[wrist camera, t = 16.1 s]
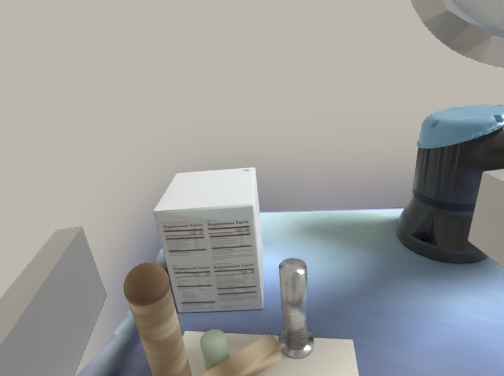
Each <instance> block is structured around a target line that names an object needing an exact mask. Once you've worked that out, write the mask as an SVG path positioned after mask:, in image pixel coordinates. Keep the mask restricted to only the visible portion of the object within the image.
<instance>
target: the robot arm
mask: <svg viewBox="0 0 504 376" xmlns="http://www.w3.org/2000/svg"><path fill="white" fill-rule="evenodd" d="M411 2H412V5H413V7H414V9H415V10H416V12H417V14H418V15H419V17H420V19H421V20H422V22H423V23H424V24H425V26H426V27H427V28H428V29H429V30H430V31H431V32H432V33H433V35H434V36H435V37H436V38H437V39H439V40H440V41H441V42H442V43H443V44H445V45H446V46H448V47H449V48H451V49H452V50H454V51H456V52H458V53H459V54H461V55H463V56H466V57H468V58H471V59H473V60H476V61H478V62H481V63H484V64H488V65H493V66H497V67H502V68H504V0H411ZM417 146H418V154H417V161H416V169H415V176H414V183H413V191H412V196H411V197H410V199H409V201H408V203H407V205H406V207H405V208H404V210H403V212H402V214H401V216H400V217H399V220H398V227H397V235H398V237H399V239H400V240H401V241H402V243H403V244H405V245H406V246H407V247H408V248H410V249H411V250H413V251H415V252H417V253H419V254H421V255H423V256H426V257H429V258H432V259H436V260H440V261H445V262H452V263H470V262H476V261H480V260H482V259H485V258H486V257H488V256H489V257H490V258H491V259H493V260H494V261H495V262H497V263H498V264H499V265H501V266H502V267H503V268H504V106H502V105H470V106H462V107H454V108H449V109H445V110H441V111H438V112H435V113H433V114H431V115H429V116H428V117H427V118H426V119H425V120H424V122H423V123H422V128H421V132H420V137H419V140H418V142H417ZM105 299H106V292H105V289H104V286H103V284H102V281H101V278H100V275H99V272H98V270H97V267H96V264H95V261H94V259H93V256H92V253H91V250H90V247H89V244H88V242H87V239H86V236H85V233H84V230H83V228H82V226H81V227H74V228H67V229H59V230H56V231H55V232H54V233H53V235H52V236H51V237H50V238H49V240H48V241H47V242H46V243H45V244H44V246H43V247H42V248H41V249H40V251H39V252H38V253H37V254H36V255H35V257H34V258H33V259H32V260H31V262H30V263H29V264H28V265H27V267H26V268H25V269H24V270H23V271H22V273H21V274H20V275H19V277H18V278H17V279H16V280H15V281H14V282H13V284H12V285H11V286H10V287H9V289H8V290H7V291H6V292H5V294H4V295H3V296H2V297H1V298H0V376H75V373H76V371H77V368H78V366H79V364H80V361H81V359H82V356H83V354H84V351H85V348H86V346H87V343H88V341H89V339H90V336H91V334H92V331H93V329H94V326H95V323H96V321H97V319H98V316H99V314H100V311H101V309H102V306H103V304H104V301H105Z"/></svg>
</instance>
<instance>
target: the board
mask: <svg viewBox="0 0 504 376" xmlns="http://www.w3.org/2000/svg"><path fill="white" fill-rule="evenodd" d="M204 333H205V332H195V331H185V333H184V335H183V341H184V345H185V349H186V353H187V357H188V361H189V365H190V369H191V373H192V376H200V375H202V374H204V373H205V372H207V370H206V368H205V364H204V359H203V354H202V350H201V345H200V339H201V337H202V335H203V334H204ZM224 334H225V336H226V342H227V348H228V353H229V358H230V357H232V356H233V355H235V354H237V353H238V352H240V351H241V350H243V349H245V348H246V347H248V346H250V345H251V344H253V343H255V342H256V341H258V340H260V339H261V338H263V337H264V336H266V335H253V334H233V333H224ZM274 337H275V338H276V340H277V341H278V338H279V336H274ZM281 356H282V359H280V360H279V361H277V362H276V363H274V364H273V365H271V366H270V367H268V368H267V369H265V370H264V371H262V372H261V373H259V374H258V375H256V376H359V375H358V369H357V363H356V357H355V351H354V345H353V340H349V339H330V338H314V348H313V351H312V352H311V354H310V355H308V356H307V357H305V358H302V359H292V358H289V357H287V356H286V355H284V354H283V353H282V352H281Z"/></svg>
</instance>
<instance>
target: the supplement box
mask: <svg viewBox="0 0 504 376" xmlns="http://www.w3.org/2000/svg"><path fill="white" fill-rule="evenodd" d="M154 215H155V220H156V224H157V228H158V232H159V236H160V240H161V244H162V248H163V252H164V256H165V260H166V264H167V268H168V272H169V276H170V281H171V285H172V289H173V293H174V297H175V301H176V305H177V310H178V312H179V313H185V312H210V311H233V310H256V309H263V305H264V289H263V246H262V235H261V224H260V213H259V202H258V193H257V182H256V171H255V168H240V169H227V170H214V171H201V172H188V173H177V174H176V176H175V177H174V179H173V180H172V182H171V184H170V185H169V187H168V188H167V190H166V192H165V193H164V195H163V196H162V198H161V200H160V201H159V203H158V205H157V206H156V208H155V209H154Z"/></svg>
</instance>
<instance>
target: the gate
mask: <svg viewBox="0 0 504 376" xmlns="http://www.w3.org/2000/svg"><path fill="white" fill-rule="evenodd" d="M124 293H125V296H126V298H127V300H128V301H129V304H130V307H131V311H132V314H133V317H134V320H135V323H136V326H137V329H138V332H139V335H140V338H141V341H142V344H143V348H144V351H145V354H146V357H147V360H148V363H149V366H150V369H151V372H152V375H153V376H192V373H191V369H190V365H189V361H188V357H187V353H186V349H185V345H184V341H183V337H182V333H181V329H180V325H179V321H178V317H177V313H176V309H175V305H174V301H173V297H172V293H171V289H170V280H169V276H168V274H167V272H166V271H165V270H164V269H163V268H162V267H161V266H159V265H157V264H154V263H144V264H140V265H138V266H136V267H135V268H133V269H132V270H131V271H130V272H129V274H128V275H127V277H126V279H125V282H124ZM280 359H282V356H281V344H280V343H279V342H278V341H277V340H276V338H275V337H274V336H273V335H272V334H271V333H269V334H268V335H266V336H264V337H263V338H261V339H260V340H258V341H256V342H255V343H253V344H251V345H250V346H248V347H246V348H245V349H243V350H241V351H240V352H238V353H237V354H235V355H233V356H232V357H230V358H228V359H227V360H225V361H223V362H222V363H220V364H218V365H217V366H215V367H214V368H212V369H210V370H209V371H207V372H205V373H204V374H202V375H200V376H256V375H258V374H259V373H261V372H262V371H264V370H265V369H267V368H268V367H270V366H271V365H273V364H274V363H276V362H277V361H279V360H280Z"/></svg>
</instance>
